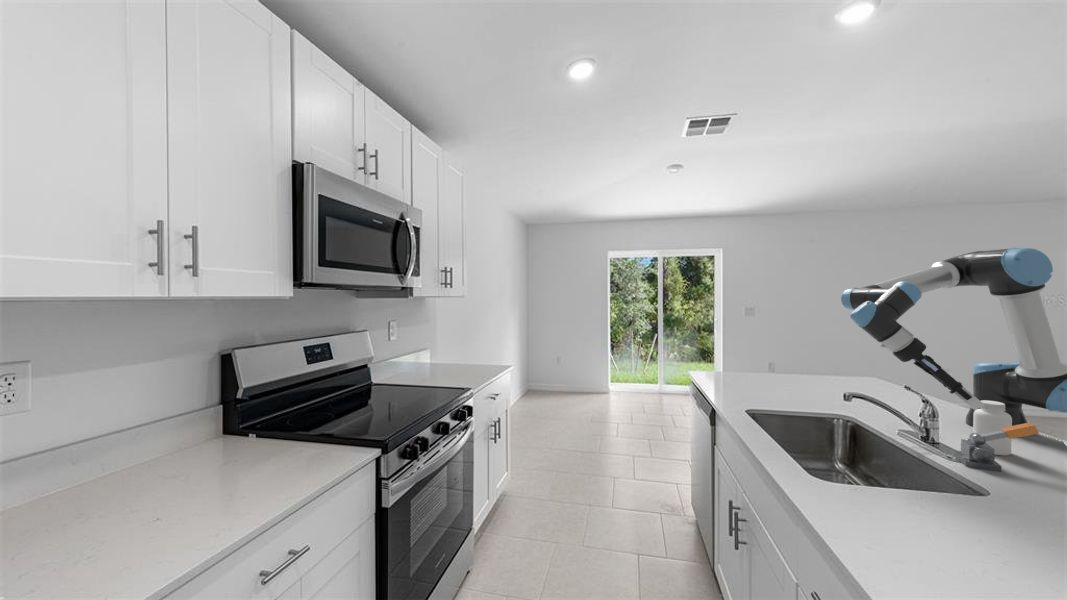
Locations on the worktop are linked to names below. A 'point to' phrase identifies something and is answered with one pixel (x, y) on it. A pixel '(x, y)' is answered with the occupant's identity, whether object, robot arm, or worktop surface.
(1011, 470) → the worktop surface
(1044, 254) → the robot arm
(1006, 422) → the pill bottle
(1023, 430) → the valve lever
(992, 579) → the worktop surface
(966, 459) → the valve body
